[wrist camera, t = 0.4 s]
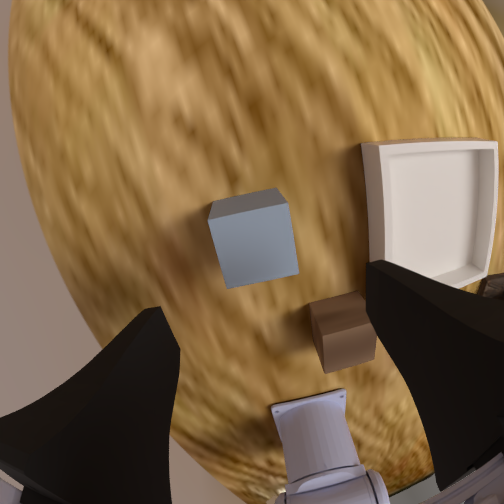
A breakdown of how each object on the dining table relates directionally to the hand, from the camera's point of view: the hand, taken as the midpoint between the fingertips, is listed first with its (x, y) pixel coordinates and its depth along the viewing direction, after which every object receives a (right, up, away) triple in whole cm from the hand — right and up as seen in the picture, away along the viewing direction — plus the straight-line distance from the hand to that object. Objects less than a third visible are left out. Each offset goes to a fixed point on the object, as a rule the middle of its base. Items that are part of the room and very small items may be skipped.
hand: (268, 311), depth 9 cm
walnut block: (+6, -3, +12) cm, 14 cm away
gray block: (-1, +4, +9) cm, 10 cm away
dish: (+13, +5, +9) cm, 17 cm away
